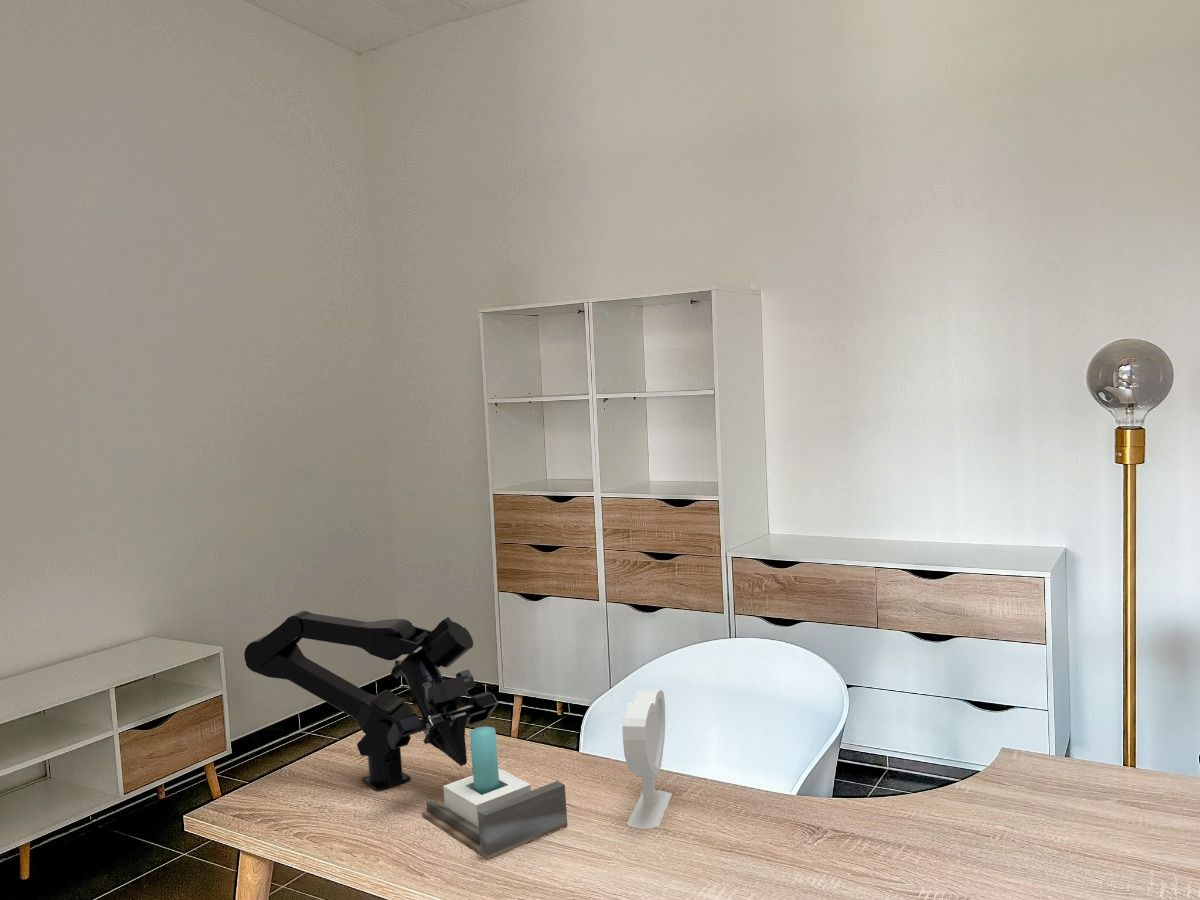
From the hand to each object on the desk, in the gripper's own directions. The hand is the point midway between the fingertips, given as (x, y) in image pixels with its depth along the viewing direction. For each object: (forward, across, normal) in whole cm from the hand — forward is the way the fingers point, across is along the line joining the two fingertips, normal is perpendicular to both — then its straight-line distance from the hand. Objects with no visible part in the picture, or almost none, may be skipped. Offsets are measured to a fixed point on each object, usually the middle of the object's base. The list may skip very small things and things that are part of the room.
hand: (464, 764), depth 157 cm
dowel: (+9, 0, -1) cm, 9 cm away
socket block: (+9, 0, 0) cm, 9 cm away
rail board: (+10, 0, -1) cm, 11 cm away
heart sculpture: (+21, +20, -11) cm, 31 cm away
